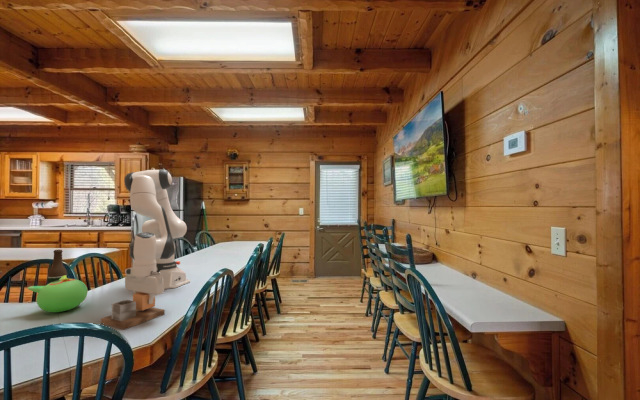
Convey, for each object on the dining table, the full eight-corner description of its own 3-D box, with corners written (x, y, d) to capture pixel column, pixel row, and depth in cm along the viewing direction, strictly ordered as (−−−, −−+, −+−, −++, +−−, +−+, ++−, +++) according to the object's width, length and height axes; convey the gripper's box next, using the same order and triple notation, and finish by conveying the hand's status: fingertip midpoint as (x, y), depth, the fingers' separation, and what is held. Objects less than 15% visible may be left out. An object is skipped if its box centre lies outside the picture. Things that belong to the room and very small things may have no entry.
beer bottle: (44, 300, 152) (45, 251, 153) (50, 295, 159) (51, 249, 160) (63, 298, 155) (64, 250, 156) (69, 294, 163) (70, 248, 163)
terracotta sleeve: (145, 304, 138) (145, 290, 138) (154, 306, 136) (155, 292, 136) (132, 308, 133) (132, 294, 133) (142, 310, 130) (142, 296, 130)
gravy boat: (56, 319, 128) (57, 283, 128) (24, 315, 132) (24, 281, 132) (95, 305, 146) (96, 274, 146) (66, 302, 149) (67, 272, 149)
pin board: (142, 309, 141) (142, 292, 141) (164, 314, 136) (164, 296, 136) (101, 323, 125) (101, 303, 125) (124, 329, 119) (124, 308, 119)
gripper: (168, 271, 133) (167, 303, 133) (135, 266, 141) (135, 297, 141) (155, 274, 127) (154, 308, 127) (122, 269, 136) (121, 301, 135)
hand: (144, 302), depth 134 cm, fingers closed on terracotta sleeve, 6 cm apart
